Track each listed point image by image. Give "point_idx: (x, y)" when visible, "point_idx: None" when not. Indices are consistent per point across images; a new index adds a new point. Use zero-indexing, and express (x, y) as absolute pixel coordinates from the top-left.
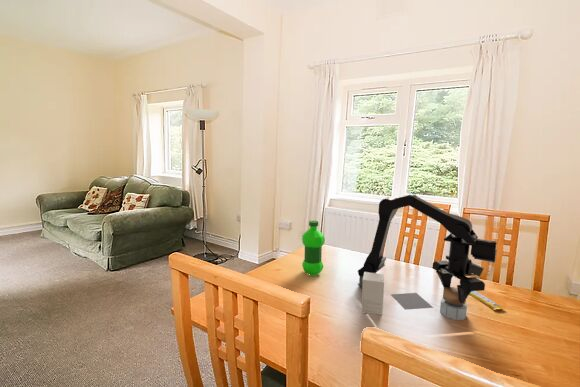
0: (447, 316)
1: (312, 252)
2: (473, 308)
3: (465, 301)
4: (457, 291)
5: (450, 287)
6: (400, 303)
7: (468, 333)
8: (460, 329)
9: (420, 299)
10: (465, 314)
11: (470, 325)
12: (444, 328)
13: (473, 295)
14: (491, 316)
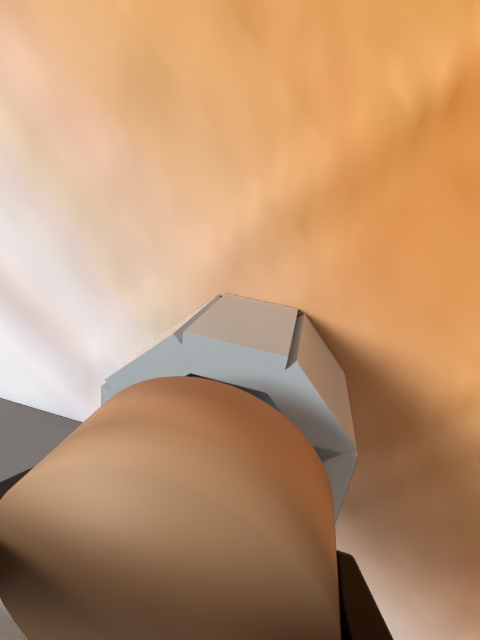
0: None
1: None
2: (210, 91)
3: (324, 488)
4: (155, 591)
5: (10, 552)
6: None
7: (477, 494)
8: (412, 497)
9: (34, 438)
10: (347, 404)
11: (412, 390)
12: None
13: None
14: (402, 16)
